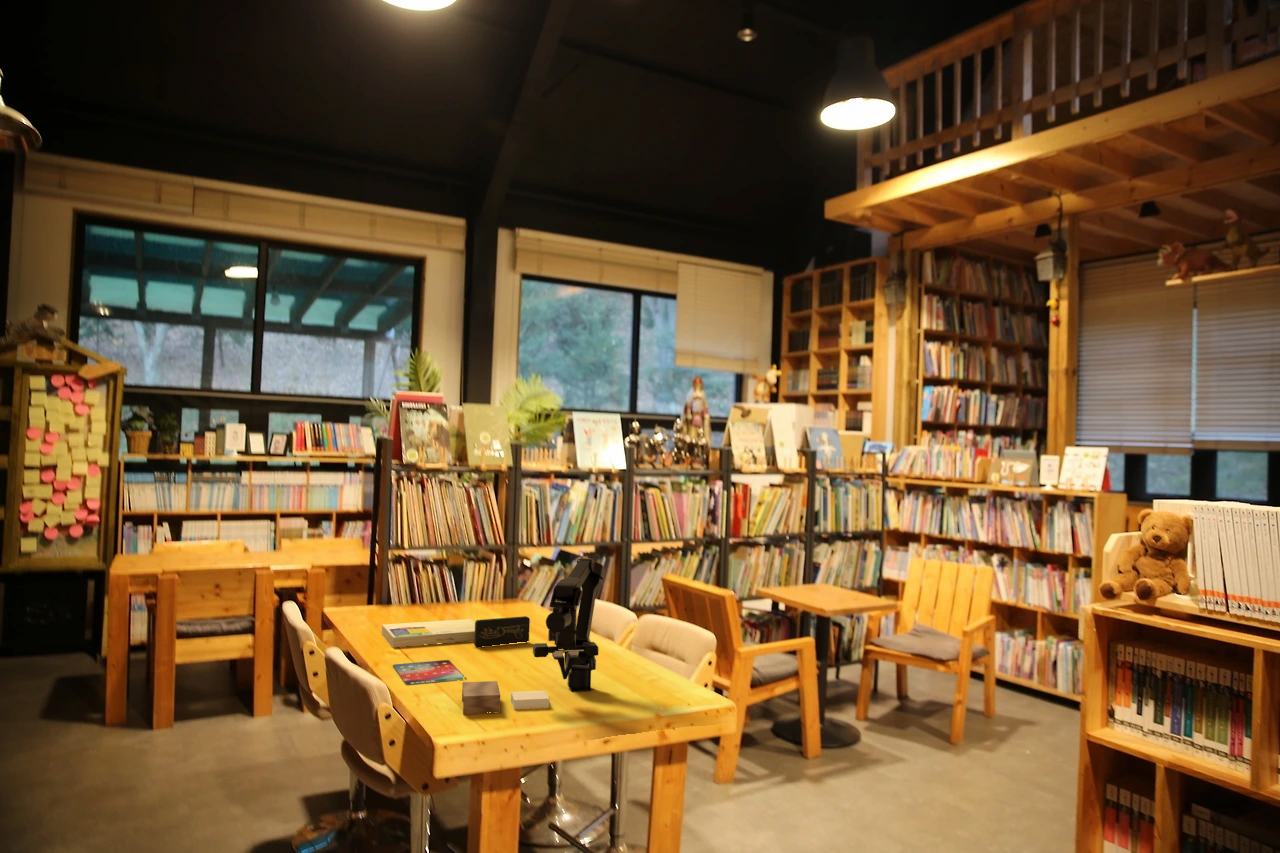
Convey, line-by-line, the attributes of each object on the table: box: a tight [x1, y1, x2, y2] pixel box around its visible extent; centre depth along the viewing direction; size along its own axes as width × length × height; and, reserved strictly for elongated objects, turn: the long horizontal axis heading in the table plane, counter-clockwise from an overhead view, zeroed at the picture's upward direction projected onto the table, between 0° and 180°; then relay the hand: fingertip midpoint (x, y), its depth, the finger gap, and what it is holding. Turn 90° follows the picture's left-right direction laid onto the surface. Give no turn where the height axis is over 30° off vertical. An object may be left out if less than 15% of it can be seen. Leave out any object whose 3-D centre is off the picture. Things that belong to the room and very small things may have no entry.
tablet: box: [392, 659, 467, 686], centre depth 269 cm, size 19×25×1 cm
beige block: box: [510, 690, 550, 710], centre depth 238 cm, size 10×8×3 cm
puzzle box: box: [380, 618, 476, 649], centre depth 318 cm, size 36×5×24 cm
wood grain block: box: [461, 680, 501, 715], centre depth 235 cm, size 10×14×5 cm
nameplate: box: [473, 615, 531, 648], centre depth 310 cm, size 21×2×10 cm, turn 119°
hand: (564, 679), depth 241 cm, fingers closed
